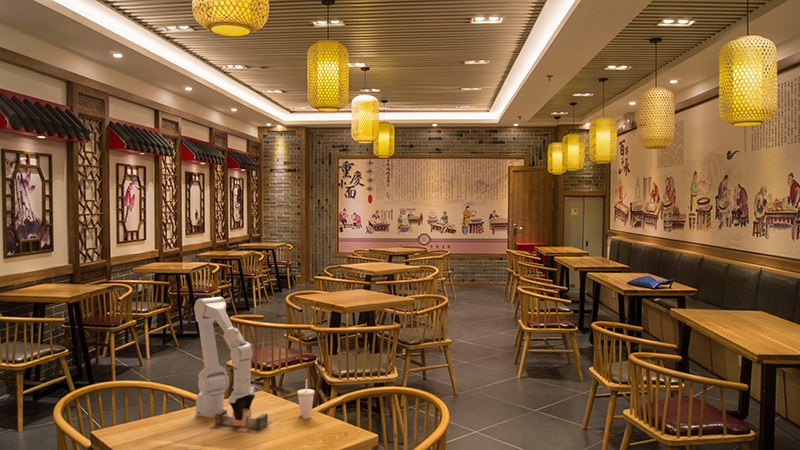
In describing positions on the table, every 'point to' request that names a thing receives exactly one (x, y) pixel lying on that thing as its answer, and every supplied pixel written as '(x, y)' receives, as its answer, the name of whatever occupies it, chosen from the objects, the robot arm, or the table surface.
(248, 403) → the robot arm
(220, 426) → the rail board
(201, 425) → the table surface
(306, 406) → the smoothie
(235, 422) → the sleeve
